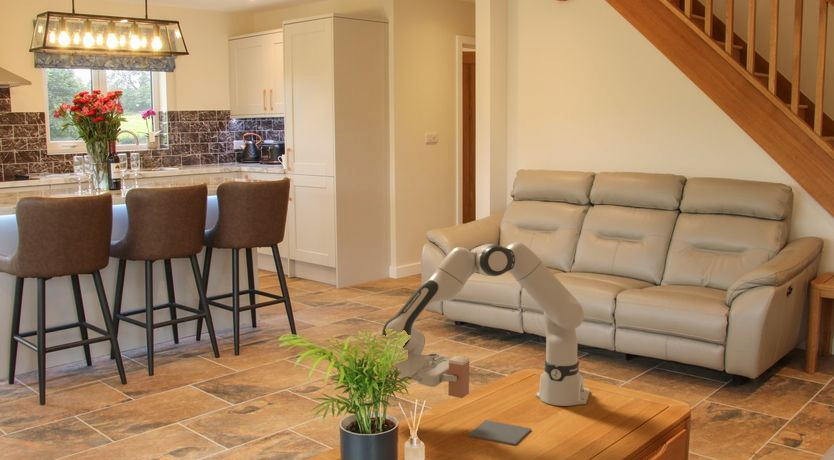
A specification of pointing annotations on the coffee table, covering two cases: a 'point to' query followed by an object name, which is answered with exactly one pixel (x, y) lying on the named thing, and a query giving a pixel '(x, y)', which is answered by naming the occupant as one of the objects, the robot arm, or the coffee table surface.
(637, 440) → the coffee table surface
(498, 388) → the coffee table surface
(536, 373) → the coffee table surface
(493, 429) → the slate mat
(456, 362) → the tall block
